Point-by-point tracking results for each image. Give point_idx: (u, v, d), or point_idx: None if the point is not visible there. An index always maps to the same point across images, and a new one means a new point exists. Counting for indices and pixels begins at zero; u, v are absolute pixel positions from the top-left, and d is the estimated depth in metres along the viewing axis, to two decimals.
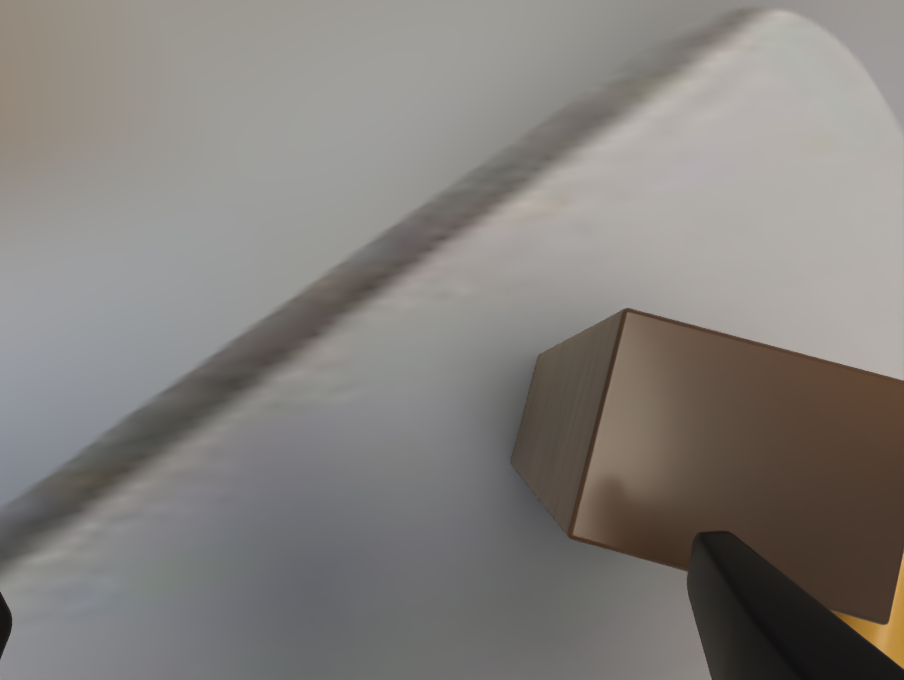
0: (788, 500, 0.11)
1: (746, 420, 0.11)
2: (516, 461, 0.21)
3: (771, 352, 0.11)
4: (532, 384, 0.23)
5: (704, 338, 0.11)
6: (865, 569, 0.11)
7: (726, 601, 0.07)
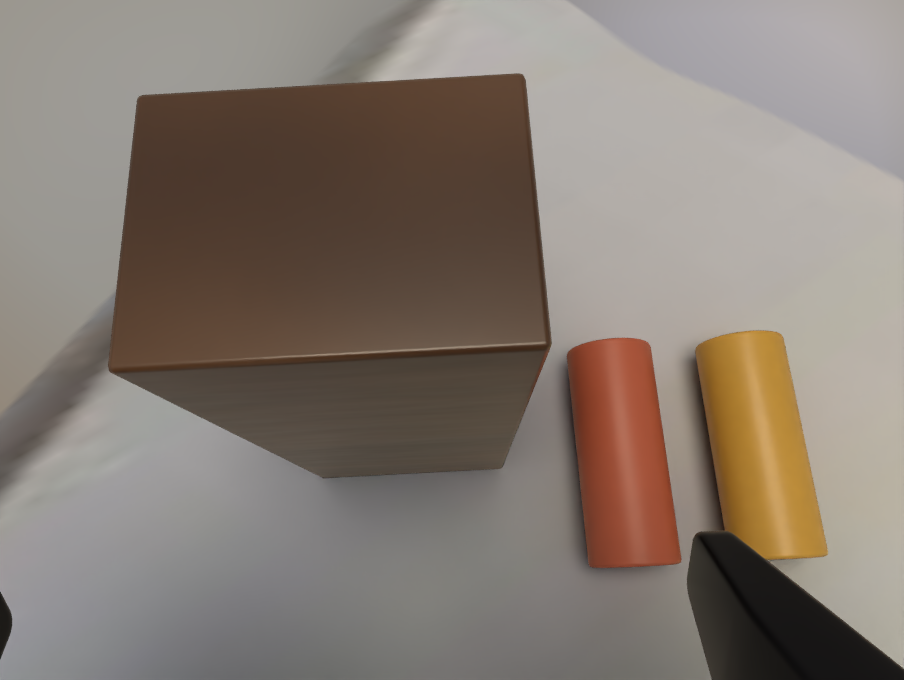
0: (380, 239, 0.08)
1: (307, 167, 0.09)
2: None
3: (319, 89, 0.09)
4: None
5: (236, 98, 0.09)
6: (499, 288, 0.08)
7: (726, 601, 0.07)
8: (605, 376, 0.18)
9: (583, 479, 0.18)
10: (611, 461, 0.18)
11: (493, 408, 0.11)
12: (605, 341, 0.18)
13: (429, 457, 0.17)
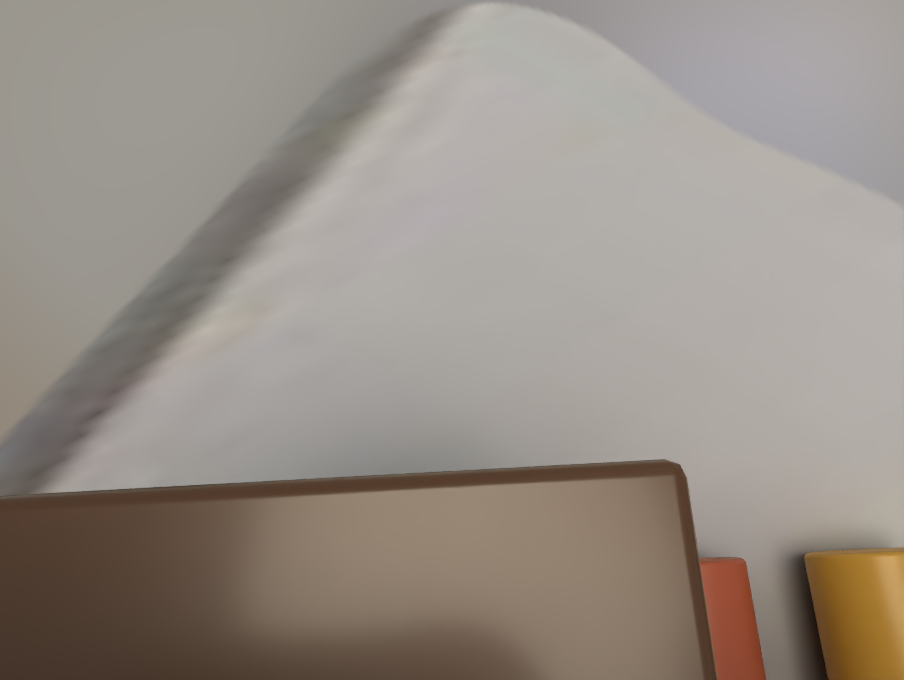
0: None
1: None
2: None
3: (93, 515, 0.03)
4: None
5: None
6: None
7: None
8: None
9: None
10: None
11: None
12: None
13: None
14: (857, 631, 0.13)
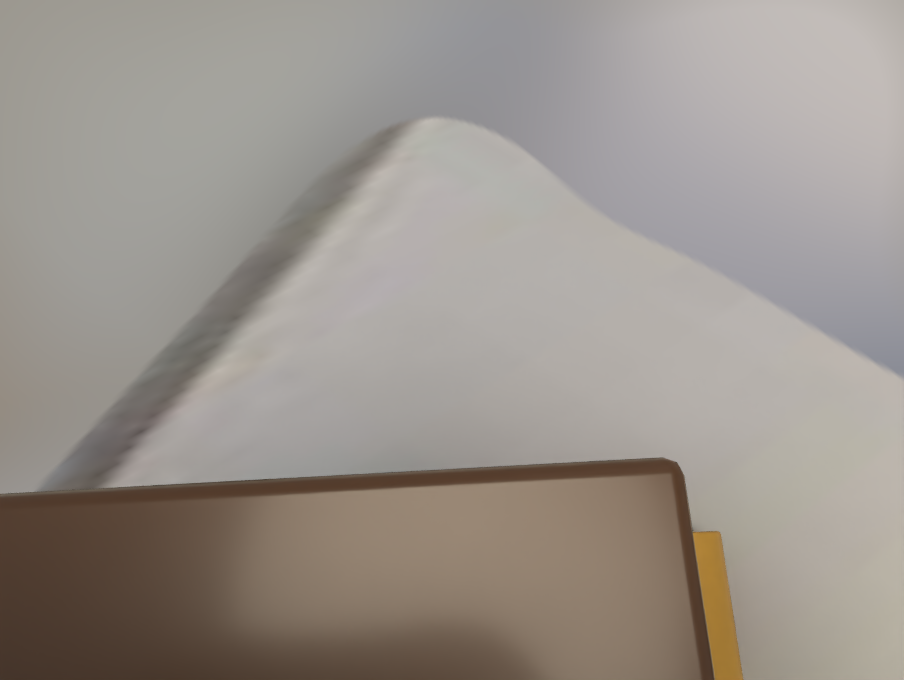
0: None
1: None
2: None
3: (92, 514, 0.03)
4: None
5: None
6: None
7: None
8: None
9: None
10: None
11: None
12: None
13: None
14: None
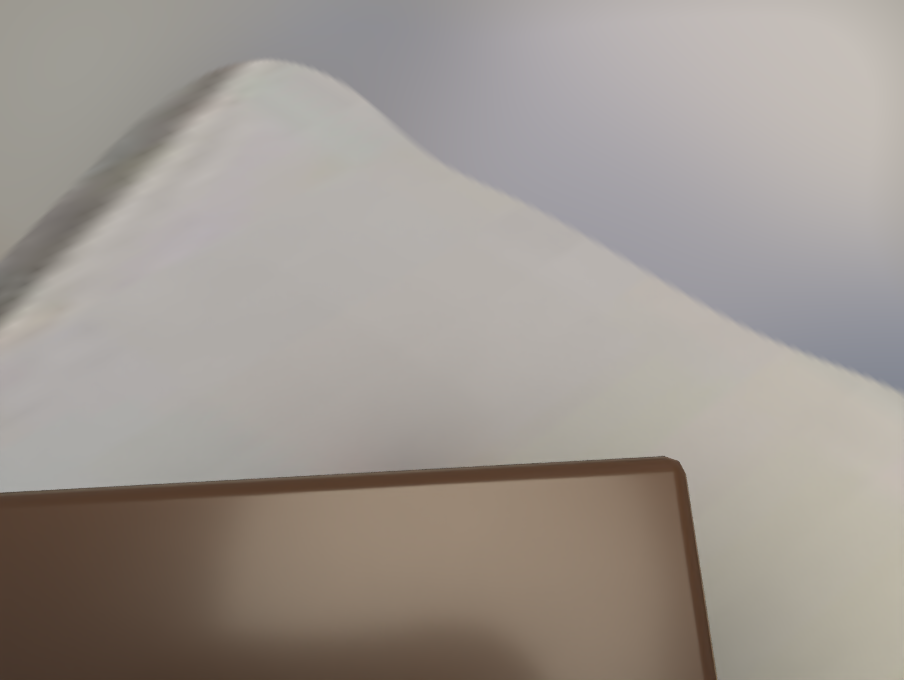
0: None
1: None
2: None
3: (91, 513, 0.03)
4: None
5: None
6: None
7: None
8: None
9: None
10: None
11: None
12: None
13: None
14: None
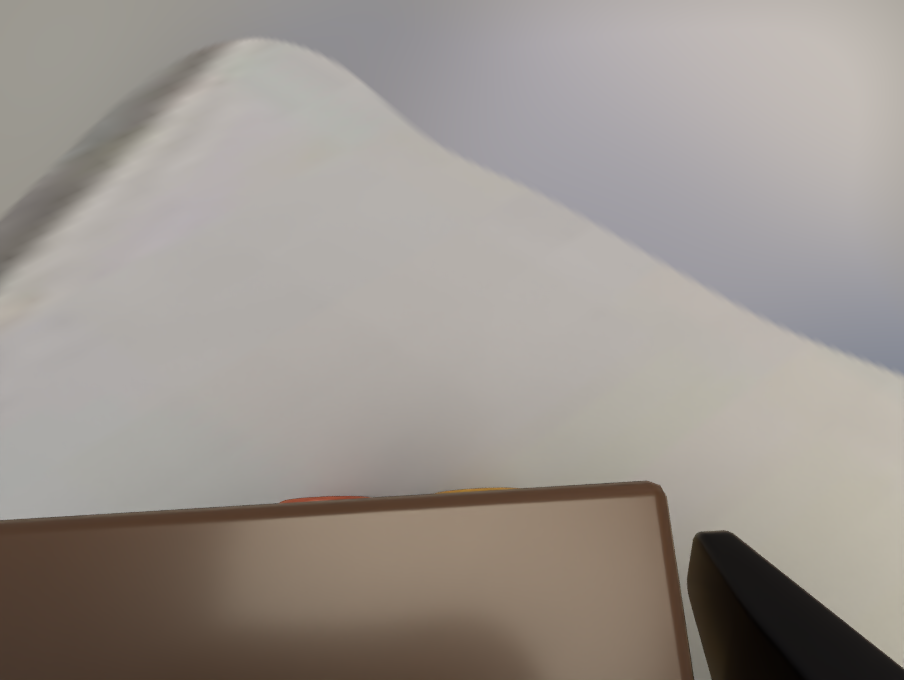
0: None
1: None
2: None
3: (133, 535, 0.04)
4: None
5: None
6: None
7: (726, 601, 0.07)
8: None
9: None
10: None
11: None
12: (305, 501, 0.16)
13: None
14: None
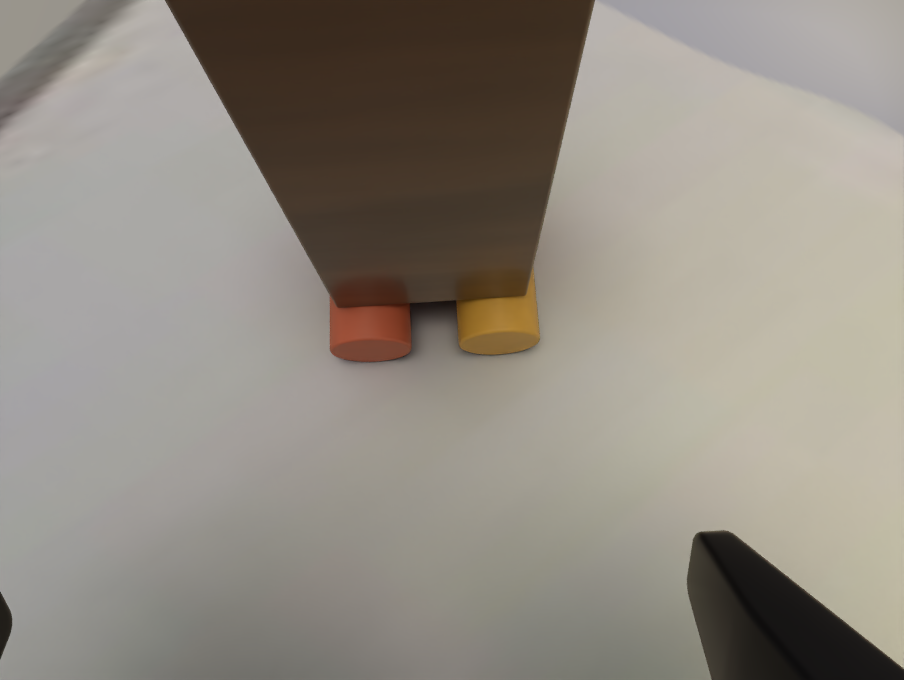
0: None
1: None
2: None
3: None
4: None
5: None
6: None
7: (726, 601, 0.07)
8: None
9: None
10: None
11: (537, 92, 0.10)
12: None
13: (454, 251, 0.16)
14: None
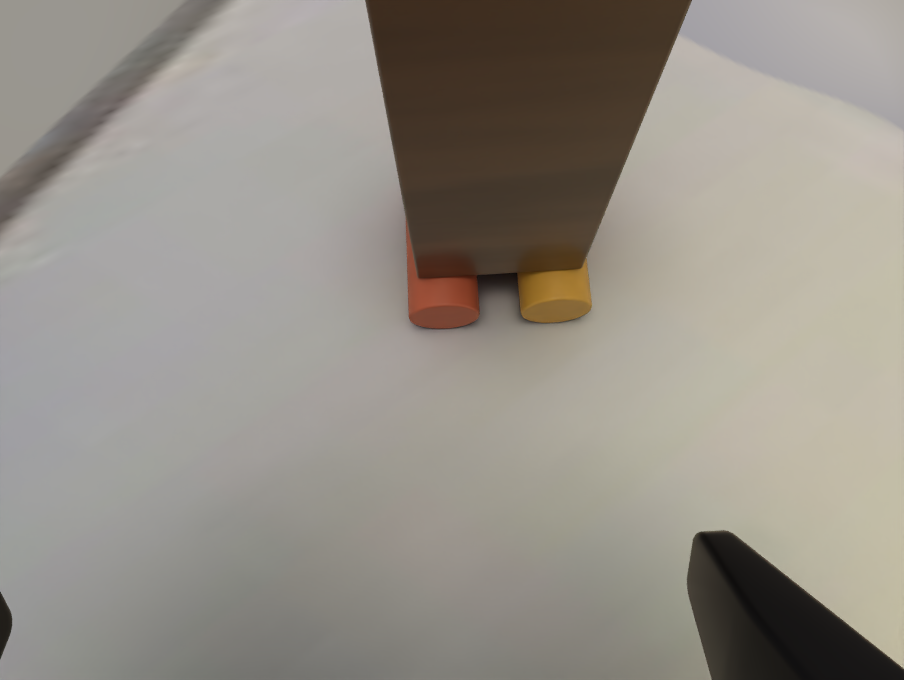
0: None
1: None
2: None
3: None
4: None
5: None
6: None
7: (726, 601, 0.07)
8: None
9: (407, 254, 0.23)
10: None
11: (627, 91, 0.13)
12: None
13: (531, 225, 0.19)
14: None
